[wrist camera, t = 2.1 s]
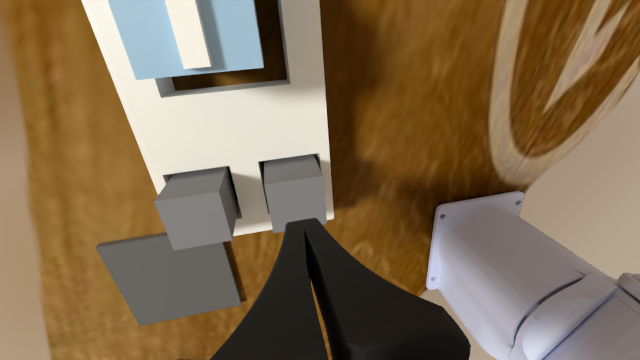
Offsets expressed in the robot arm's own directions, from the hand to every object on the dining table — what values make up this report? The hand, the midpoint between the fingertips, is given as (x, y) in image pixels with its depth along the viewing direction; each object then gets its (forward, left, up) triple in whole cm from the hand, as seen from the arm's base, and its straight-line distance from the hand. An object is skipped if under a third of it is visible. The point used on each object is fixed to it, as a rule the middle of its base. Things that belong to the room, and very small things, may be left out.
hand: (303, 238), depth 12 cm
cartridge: (+9, +3, -8) cm, 12 cm away
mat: (-8, +10, -8) cm, 15 cm away
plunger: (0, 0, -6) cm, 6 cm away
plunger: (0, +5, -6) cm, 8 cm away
